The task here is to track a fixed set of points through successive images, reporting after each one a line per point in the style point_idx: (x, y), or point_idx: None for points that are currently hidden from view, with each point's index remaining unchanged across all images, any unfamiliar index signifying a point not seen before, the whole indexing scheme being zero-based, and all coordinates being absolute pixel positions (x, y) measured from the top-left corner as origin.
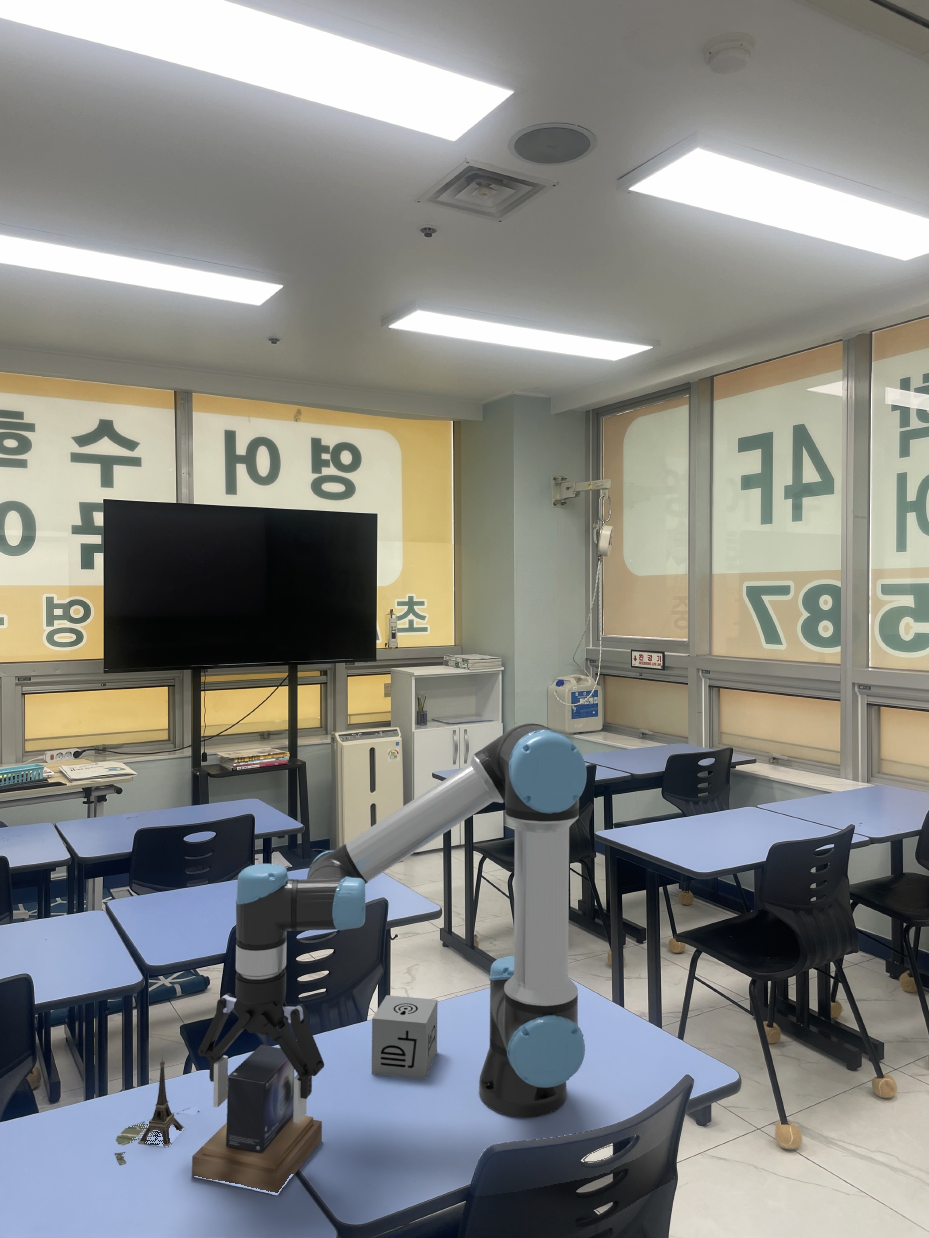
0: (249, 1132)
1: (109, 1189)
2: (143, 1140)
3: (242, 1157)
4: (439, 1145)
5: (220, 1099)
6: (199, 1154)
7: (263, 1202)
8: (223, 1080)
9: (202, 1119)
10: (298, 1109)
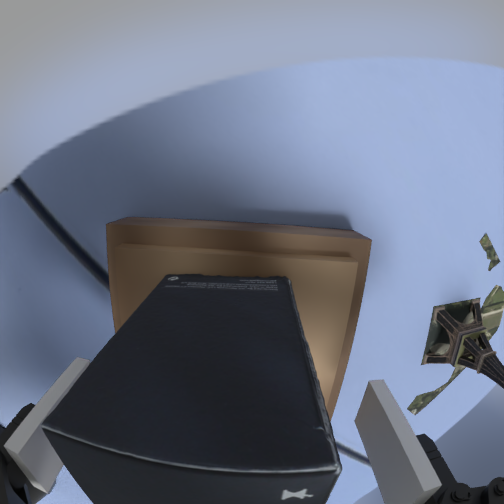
0: (195, 295)
1: (472, 161)
2: (475, 304)
3: (218, 252)
4: (9, 383)
5: (369, 403)
6: (356, 251)
7: (145, 188)
8: (381, 453)
9: (399, 393)
10: (58, 380)
